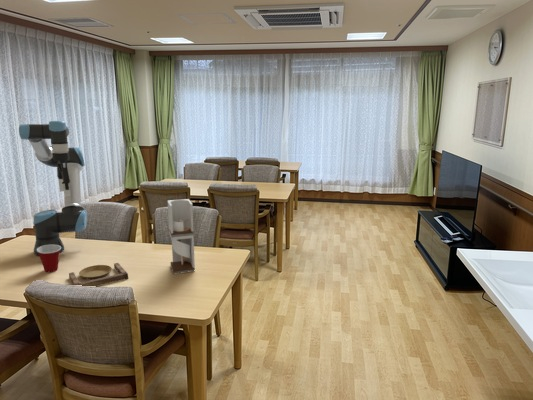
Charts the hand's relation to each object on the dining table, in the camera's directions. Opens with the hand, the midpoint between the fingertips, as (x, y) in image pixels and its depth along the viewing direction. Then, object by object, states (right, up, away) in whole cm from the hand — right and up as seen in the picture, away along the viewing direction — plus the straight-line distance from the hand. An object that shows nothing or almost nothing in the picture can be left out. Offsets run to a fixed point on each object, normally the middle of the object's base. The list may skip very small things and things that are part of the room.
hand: (65, 193), depth 201 cm
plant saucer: (+20, -41, -9) cm, 46 cm away
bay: (+23, -41, -13) cm, 49 cm away
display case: (+60, -39, 0) cm, 72 cm away
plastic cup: (-5, -39, -4) cm, 39 cm away
